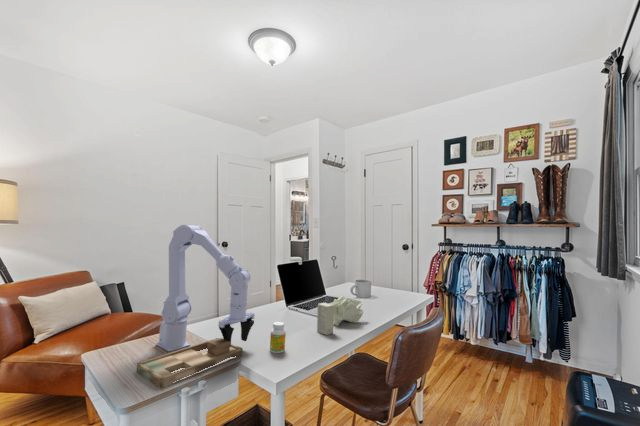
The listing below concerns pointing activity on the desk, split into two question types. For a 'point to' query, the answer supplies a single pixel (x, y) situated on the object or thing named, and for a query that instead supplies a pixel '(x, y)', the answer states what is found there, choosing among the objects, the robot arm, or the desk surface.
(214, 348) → the walnut block
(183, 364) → the tray
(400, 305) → the desk surface
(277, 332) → the supplement bottle
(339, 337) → the desk surface
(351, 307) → the wavy plaster lump
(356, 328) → the desk surface
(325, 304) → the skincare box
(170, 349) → the robot arm
